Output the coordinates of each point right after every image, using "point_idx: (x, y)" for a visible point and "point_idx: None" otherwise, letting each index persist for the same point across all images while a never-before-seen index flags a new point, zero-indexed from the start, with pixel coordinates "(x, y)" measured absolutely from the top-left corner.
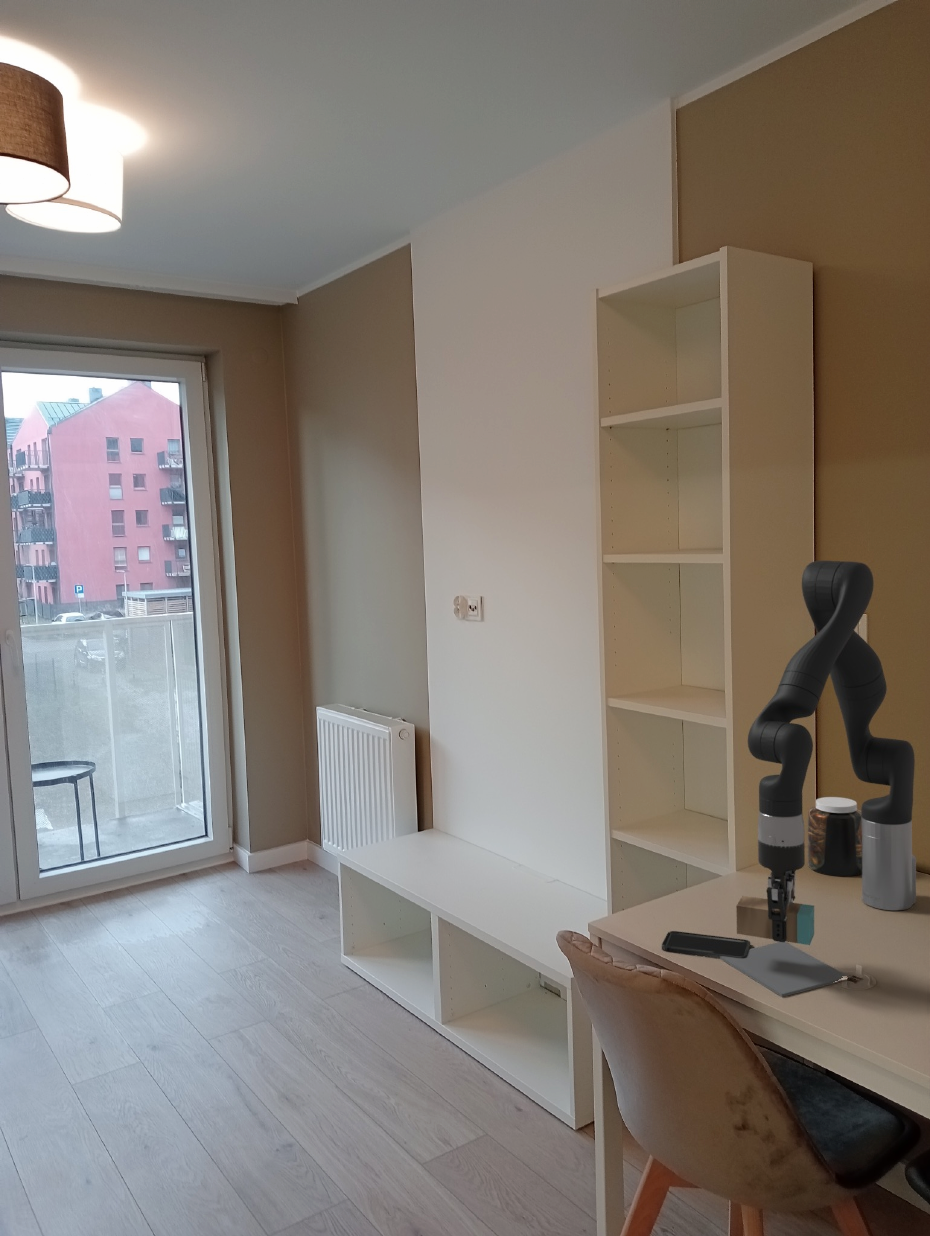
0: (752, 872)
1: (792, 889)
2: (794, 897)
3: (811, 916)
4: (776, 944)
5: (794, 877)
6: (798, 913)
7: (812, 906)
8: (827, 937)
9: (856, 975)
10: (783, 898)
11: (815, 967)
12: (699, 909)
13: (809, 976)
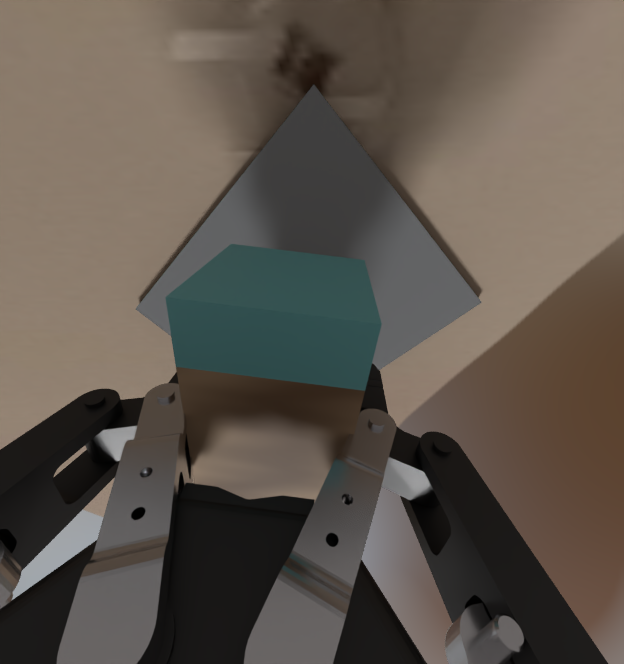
0: None
1: (175, 504)
2: (102, 402)
3: (299, 299)
4: (168, 324)
5: (119, 659)
6: (347, 384)
7: (189, 307)
8: (10, 180)
9: (271, 54)
10: (517, 603)
11: (278, 214)
12: (68, 460)
13: (349, 231)
